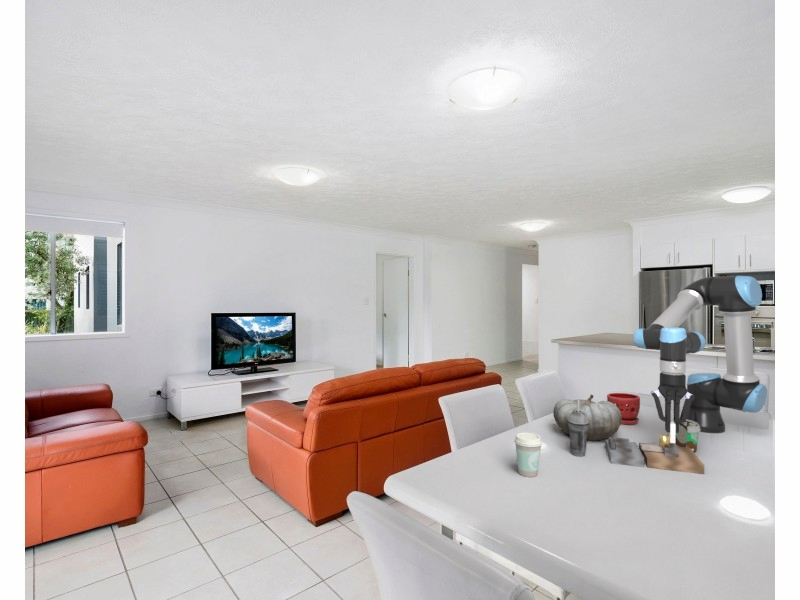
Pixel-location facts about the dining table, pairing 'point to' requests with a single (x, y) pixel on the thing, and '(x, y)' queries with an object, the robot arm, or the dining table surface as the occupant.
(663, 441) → the bolt
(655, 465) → the door board
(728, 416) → the dining table surface
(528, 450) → the coffee cup
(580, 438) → the beverage cup
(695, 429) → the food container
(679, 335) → the robot arm
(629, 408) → the plant pot
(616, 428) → the gourd
